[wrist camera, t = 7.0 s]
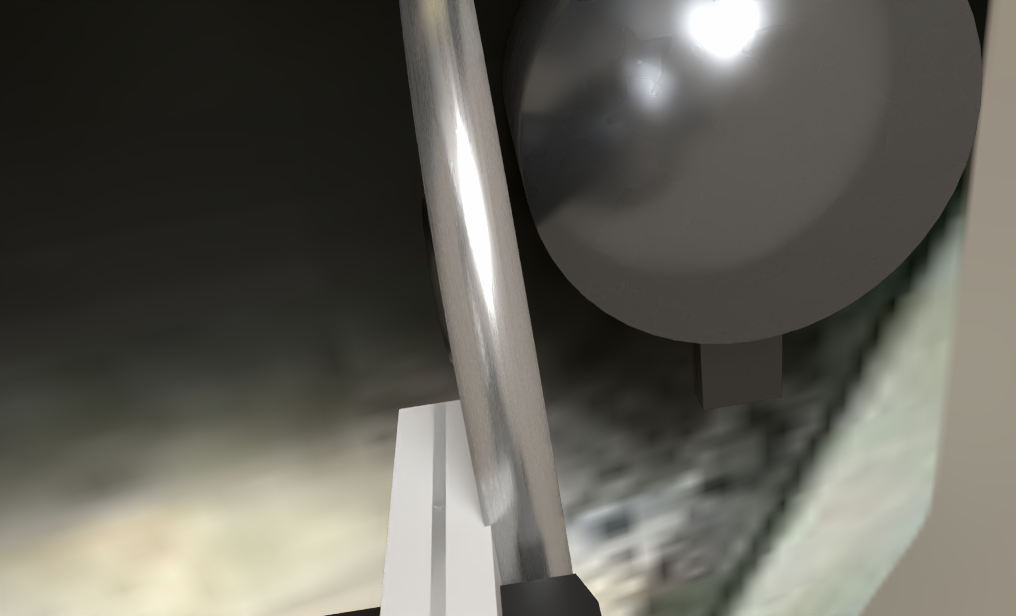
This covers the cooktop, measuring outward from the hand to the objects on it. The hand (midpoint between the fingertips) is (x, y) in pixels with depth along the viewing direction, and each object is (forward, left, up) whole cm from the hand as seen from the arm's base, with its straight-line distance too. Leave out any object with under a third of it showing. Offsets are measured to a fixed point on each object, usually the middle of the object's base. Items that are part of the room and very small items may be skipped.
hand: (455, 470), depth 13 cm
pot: (+9, 0, -23) cm, 25 cm away
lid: (+2, 0, -5) cm, 5 cm away
